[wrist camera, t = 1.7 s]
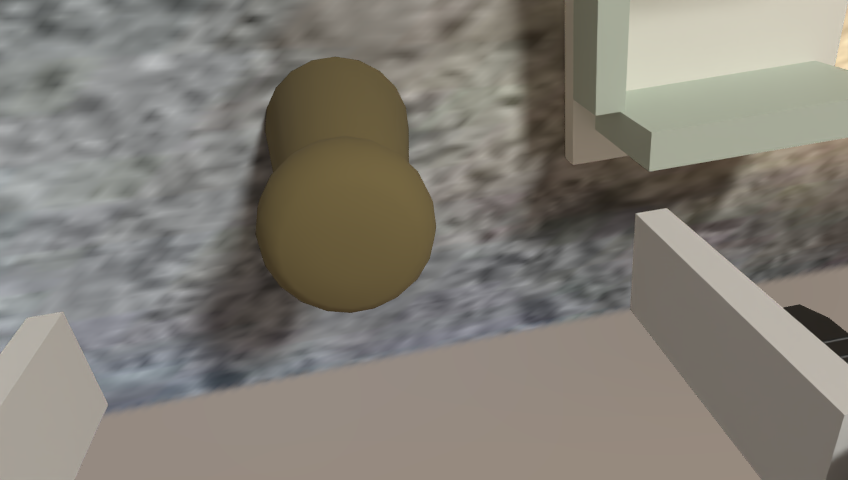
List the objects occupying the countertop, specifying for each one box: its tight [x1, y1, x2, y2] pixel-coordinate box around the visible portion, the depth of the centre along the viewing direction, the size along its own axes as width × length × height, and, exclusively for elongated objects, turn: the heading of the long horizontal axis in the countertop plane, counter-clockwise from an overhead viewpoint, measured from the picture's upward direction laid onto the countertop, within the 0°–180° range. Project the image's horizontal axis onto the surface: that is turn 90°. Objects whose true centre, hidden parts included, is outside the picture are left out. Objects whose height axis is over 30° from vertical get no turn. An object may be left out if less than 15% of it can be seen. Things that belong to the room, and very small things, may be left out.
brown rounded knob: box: [256, 57, 436, 313], centre depth 21 cm, size 6×6×11 cm
